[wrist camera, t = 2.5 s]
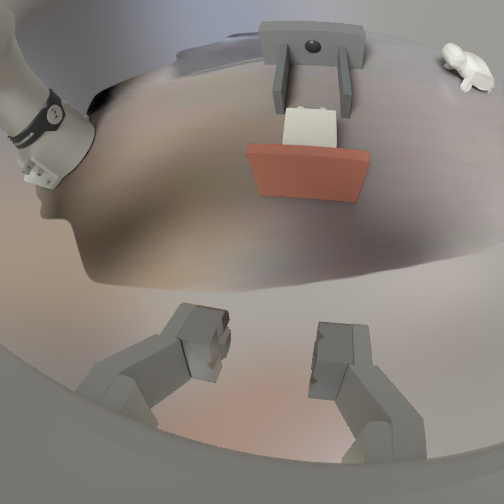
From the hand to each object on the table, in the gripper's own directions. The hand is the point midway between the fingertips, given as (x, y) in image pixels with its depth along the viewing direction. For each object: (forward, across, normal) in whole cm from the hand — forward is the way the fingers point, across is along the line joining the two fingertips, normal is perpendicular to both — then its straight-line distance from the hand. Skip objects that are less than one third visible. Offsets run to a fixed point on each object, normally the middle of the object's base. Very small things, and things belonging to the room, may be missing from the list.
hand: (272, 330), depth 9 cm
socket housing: (+44, 0, +11) cm, 46 cm away
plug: (+32, 0, -2) cm, 32 cm away
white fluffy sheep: (+52, +32, +19) cm, 64 cm away
